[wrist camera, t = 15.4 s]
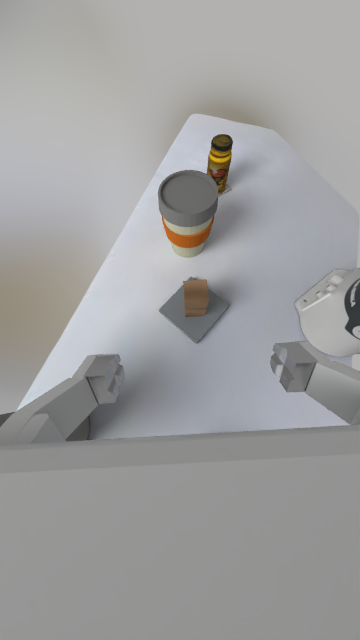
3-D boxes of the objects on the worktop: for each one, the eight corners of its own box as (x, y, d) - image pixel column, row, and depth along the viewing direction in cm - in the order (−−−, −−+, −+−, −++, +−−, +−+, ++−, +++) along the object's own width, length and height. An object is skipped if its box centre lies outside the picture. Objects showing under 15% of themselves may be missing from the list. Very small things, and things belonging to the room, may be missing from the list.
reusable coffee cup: (217, 236, 50) (230, 181, 35) (196, 270, 47) (200, 225, 32) (179, 220, 52) (177, 161, 38) (157, 251, 49) (144, 201, 35)
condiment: (212, 199, 54) (219, 152, 42) (197, 183, 56) (199, 134, 45) (231, 189, 55) (243, 141, 43) (215, 174, 57) (222, 123, 45)
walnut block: (184, 299, 43) (183, 281, 34) (202, 298, 43) (206, 279, 34) (185, 317, 41) (184, 302, 33) (204, 315, 41) (208, 300, 33)
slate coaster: (190, 279, 46) (191, 276, 44) (227, 307, 43) (229, 305, 42) (159, 312, 44) (158, 310, 42) (196, 343, 41) (196, 342, 39)
